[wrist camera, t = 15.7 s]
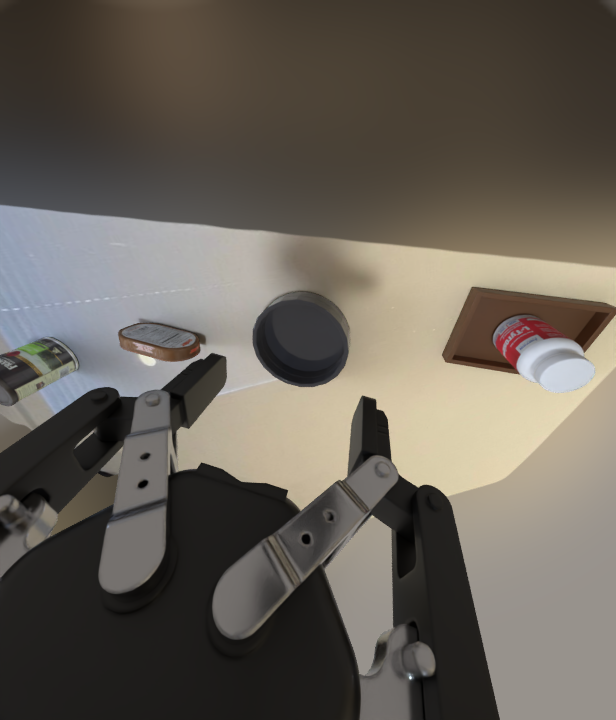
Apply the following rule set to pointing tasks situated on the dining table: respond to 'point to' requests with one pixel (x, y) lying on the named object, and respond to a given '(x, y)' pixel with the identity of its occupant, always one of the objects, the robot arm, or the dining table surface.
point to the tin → (159, 341)
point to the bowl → (302, 339)
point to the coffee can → (33, 368)
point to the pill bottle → (543, 354)
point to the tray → (496, 306)
